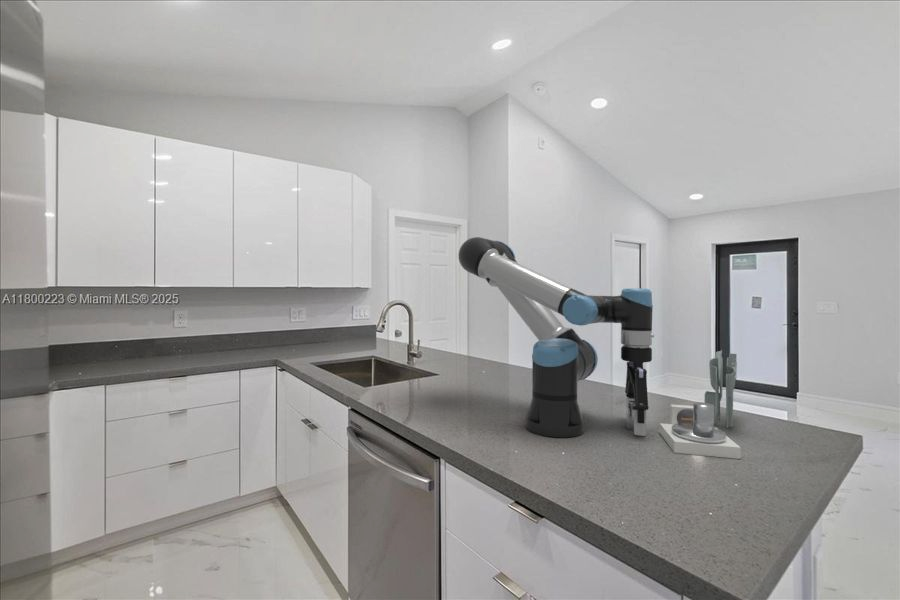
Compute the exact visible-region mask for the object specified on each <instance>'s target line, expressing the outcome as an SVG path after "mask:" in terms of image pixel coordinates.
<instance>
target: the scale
mask: <svg viewBox="0 0 900 600" xmlns="http://www.w3.org/2000/svg"><path fill="white" fill-rule="evenodd" d="M680 423H689V424H693V405H687V404H686V405H682V404H672V403H671V404H669V423H663V422H662V423H661V422H660V423H659V434H660V435H661V437H662V438H663V439H664V441H665V442H666V444H667V445H668V446H669V447H670V449H671V450H672V451H673V453H675V454H683V455H684V454H685V455H695V456H706V457H716V458H727V459H735V460H736V459H737V460H741V458H742V454H741V453H742V448H741V447H740V445H738V444H737V443H736V442H735V441H733V440H732V439H731V438H729V437H728V436H727V435H726V441H725V442H722V443H704V442H697V441H692V440H688V439H684V438H681V437H679V436H677V435H675V434H673V433H672V425H674V424H680ZM715 428H716V429H718V427H715Z"/></svg>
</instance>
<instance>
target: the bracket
mask: <svg viewBox="0 0 900 600" xmlns="http://www.w3.org/2000/svg"><path fill="white" fill-rule="evenodd" d="M722 353H723V349H721V350H718V351H716V352H715V353H714V354H715V355H714V357H713V358H711V359H710V360H709V378H710V379H709V380H710V386H711V388H712V389H713V390H714V391H707V390H706V391H705V392H704V403H709V404H712V405H714V425H716V426H719V422H720V421H721V401H722V398H723V383H724V382H723V381H724V380H723V376H724V373H723V372H724V371H723V370H724V369H723V368H724V366H723V365H724V361H723V356H722V355H723V354H722ZM737 363H738V362H737V353H728V357H727V358H726V374H725V404H726V406H725V407H726V410H725V412H726V413H725V414H726V415H725V416H726V421H725V422H726V425H725V426H726V429H729V427H730V428H733V426H734V425H733V424H734V390H735V389H734V388H735V387H736V381H737V367H738V364H737Z"/></svg>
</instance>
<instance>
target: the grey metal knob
mask: <svg viewBox="0 0 900 600" xmlns="http://www.w3.org/2000/svg"><path fill="white" fill-rule="evenodd" d="M692 406H693V434H694V435H696V436H699V437H703V438H713V437H714V428H715V426H714V425H715V424H714V405H712V404H709V403H705V402H703V401H702V402H700V401H697V402H696V401H695V402H693V404H692Z"/></svg>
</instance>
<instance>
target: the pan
mask: <svg viewBox="0 0 900 600" xmlns="http://www.w3.org/2000/svg"><path fill="white" fill-rule="evenodd" d="M716 428H717V427H714V437H713V438H703V437H699V436H696V435H694V434H693V424H689V423H680V424H674V425H672V433H673V434H675V435H677V436H679V437H681V438H684V439H688V440H692V441H697V442H704V443H722V442H725V441H726V436H727V434H726V432H725V431H722V430H721V429H719V428H717V429H716Z"/></svg>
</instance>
